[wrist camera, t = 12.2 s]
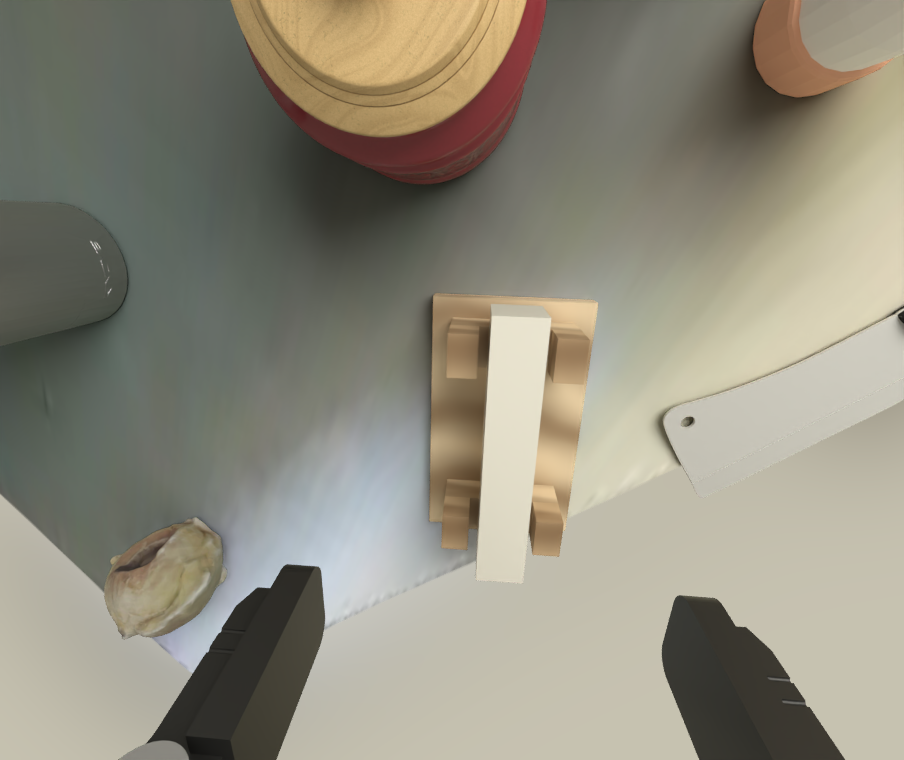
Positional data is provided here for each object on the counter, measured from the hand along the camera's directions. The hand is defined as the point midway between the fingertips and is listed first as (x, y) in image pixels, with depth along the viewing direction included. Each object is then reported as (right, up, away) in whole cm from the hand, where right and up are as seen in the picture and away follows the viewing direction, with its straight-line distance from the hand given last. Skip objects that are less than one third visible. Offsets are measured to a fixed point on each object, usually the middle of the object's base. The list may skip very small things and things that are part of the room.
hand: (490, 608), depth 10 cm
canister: (-3, +25, +19) cm, 32 cm away
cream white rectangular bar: (+3, +1, +23) cm, 23 cm away
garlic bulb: (-27, -11, +34) cm, 45 cm away
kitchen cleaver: (+31, +7, +24) cm, 40 cm away
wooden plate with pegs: (+3, +2, +27) cm, 27 cm away
